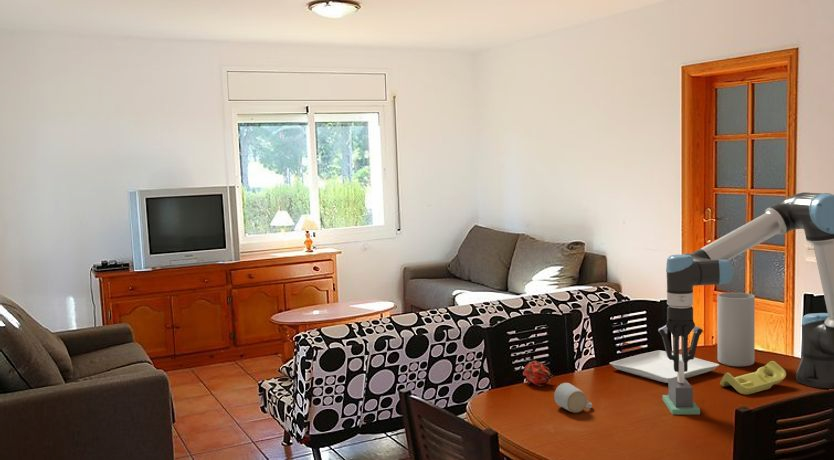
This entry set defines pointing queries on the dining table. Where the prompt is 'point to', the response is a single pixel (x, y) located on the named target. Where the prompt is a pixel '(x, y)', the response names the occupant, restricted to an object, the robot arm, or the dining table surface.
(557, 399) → the ceramic mug
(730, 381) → the plastic component
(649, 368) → the square plate
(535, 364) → the dragon fruit
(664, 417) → the dining table surface
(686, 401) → the plug housing
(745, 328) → the cylinder vase
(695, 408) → the header board
